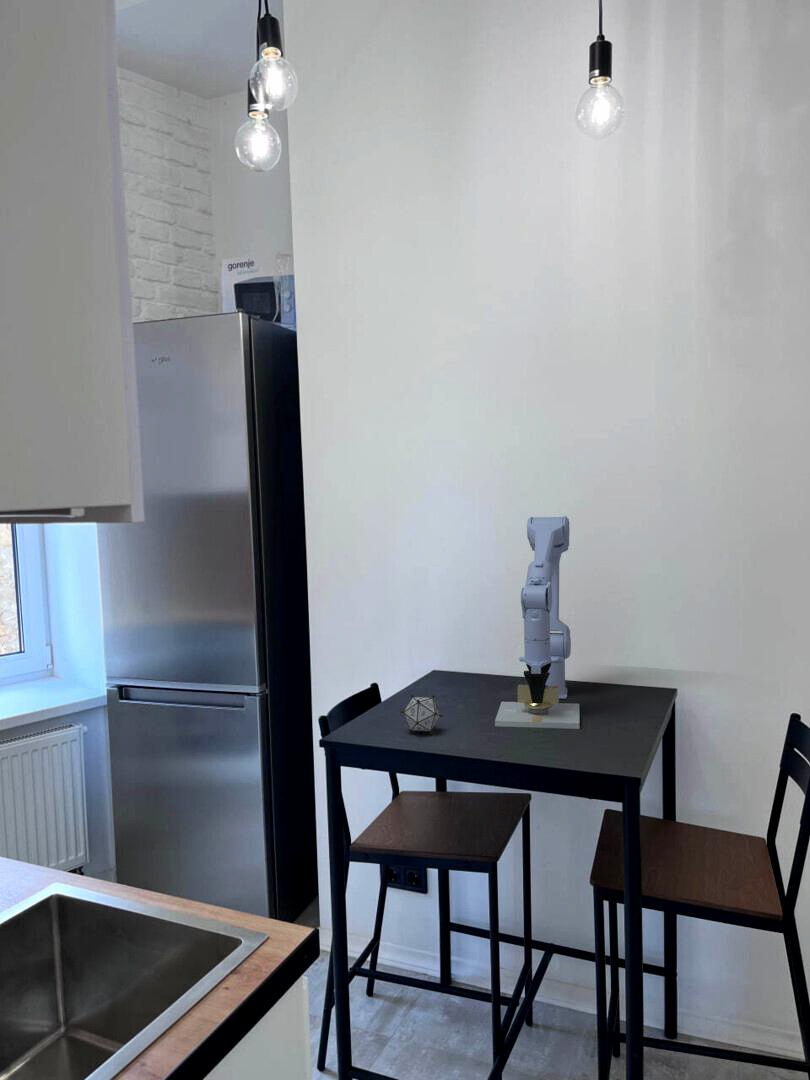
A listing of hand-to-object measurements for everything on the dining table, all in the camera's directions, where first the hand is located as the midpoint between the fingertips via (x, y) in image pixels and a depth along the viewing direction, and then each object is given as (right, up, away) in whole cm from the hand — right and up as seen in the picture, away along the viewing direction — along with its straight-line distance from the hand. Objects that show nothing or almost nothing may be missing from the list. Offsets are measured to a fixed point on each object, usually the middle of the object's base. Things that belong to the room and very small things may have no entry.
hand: (538, 698), depth 189 cm
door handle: (0, -2, 0) cm, 2 cm away
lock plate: (0, -4, 0) cm, 4 cm away
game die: (-26, -6, -8) cm, 28 cm away
